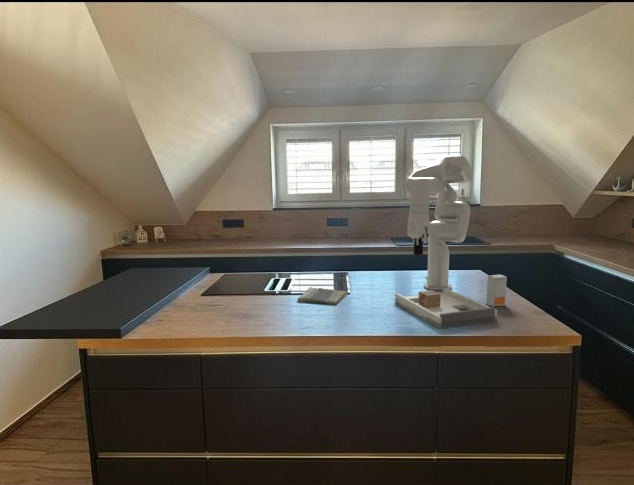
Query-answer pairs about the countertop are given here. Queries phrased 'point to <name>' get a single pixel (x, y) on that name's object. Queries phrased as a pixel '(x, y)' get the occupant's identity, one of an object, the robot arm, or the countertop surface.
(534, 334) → the countertop surface
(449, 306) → the box
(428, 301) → the block
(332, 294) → the dish towel
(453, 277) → the countertop surface
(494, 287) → the skincare box
